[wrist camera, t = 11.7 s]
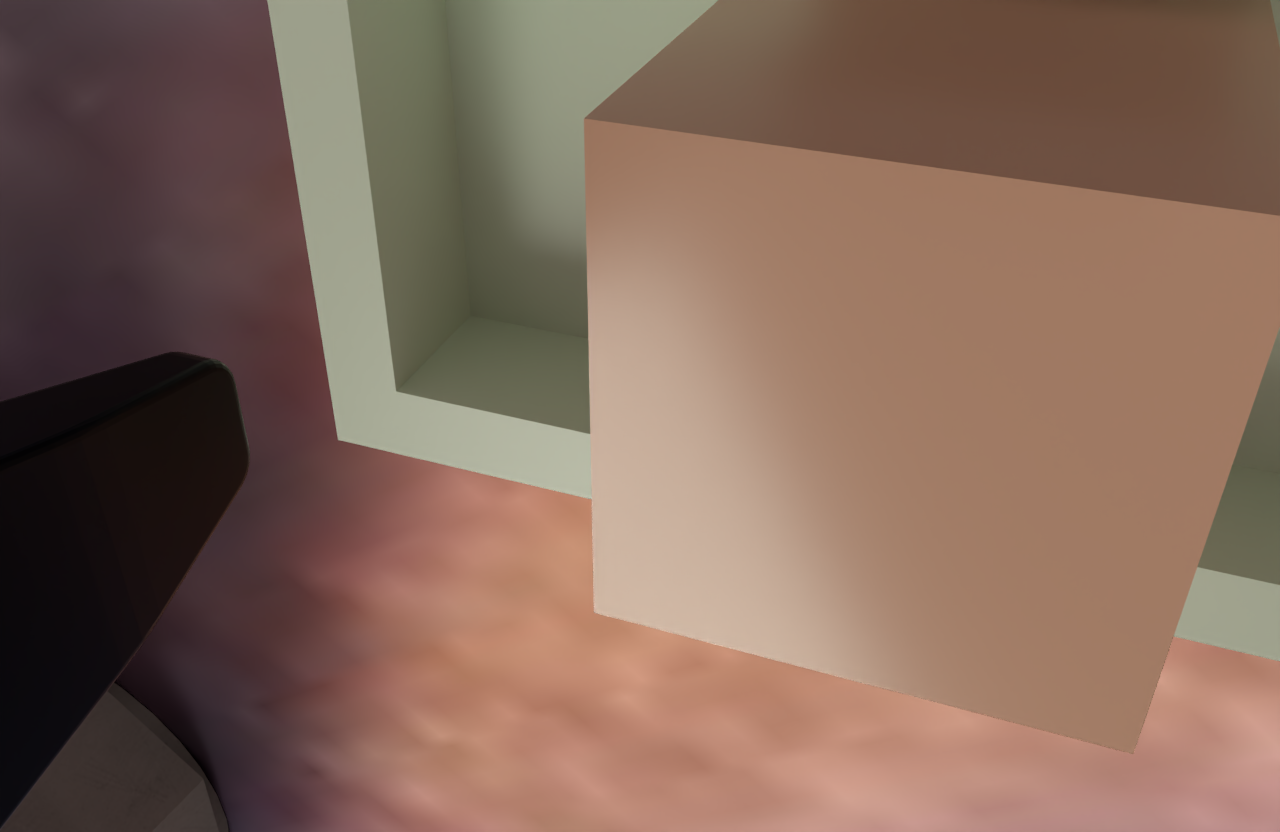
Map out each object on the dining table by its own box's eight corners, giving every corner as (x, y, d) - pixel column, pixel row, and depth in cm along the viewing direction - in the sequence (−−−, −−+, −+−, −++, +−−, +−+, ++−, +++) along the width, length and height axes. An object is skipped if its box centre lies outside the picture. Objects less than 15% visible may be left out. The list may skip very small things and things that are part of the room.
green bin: (2068, -244, 9) (2301, -201, 7) (1583, 588, 14) (1646, 747, 12) (358, -306, 14) (220, -289, 12) (428, 349, 18) (337, 439, 16)
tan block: (1263, -33, 12) (1317, 220, 7) (1149, 371, 14) (1132, 754, 9) (801, -72, 13) (583, 118, 8) (772, 303, 15) (594, 611, 11)
